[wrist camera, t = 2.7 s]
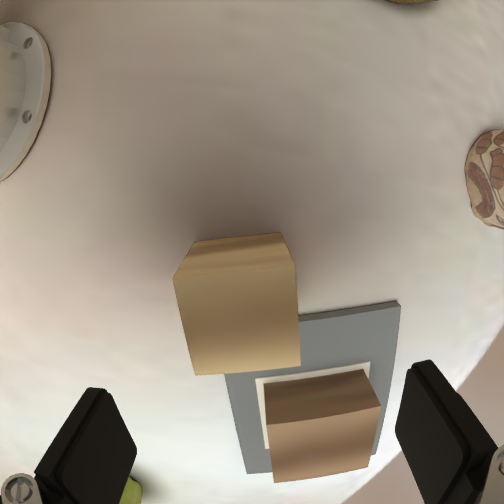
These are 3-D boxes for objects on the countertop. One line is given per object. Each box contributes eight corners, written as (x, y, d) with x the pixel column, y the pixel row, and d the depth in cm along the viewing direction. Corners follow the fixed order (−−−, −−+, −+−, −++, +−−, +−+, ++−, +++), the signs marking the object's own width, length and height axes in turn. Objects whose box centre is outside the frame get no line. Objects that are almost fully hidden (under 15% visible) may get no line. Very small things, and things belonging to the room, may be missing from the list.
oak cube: (194, 241, 19) (172, 278, 13) (280, 232, 19) (295, 265, 13) (208, 317, 20) (195, 375, 14) (286, 309, 20) (300, 365, 14)
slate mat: (216, 324, 20) (215, 331, 19) (396, 301, 20) (401, 306, 19) (246, 467, 25) (247, 474, 24) (373, 448, 24) (375, 454, 24)
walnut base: (263, 383, 20) (266, 425, 17) (363, 368, 20) (381, 405, 17) (271, 444, 22) (274, 482, 19) (355, 431, 22) (367, 467, 18)
